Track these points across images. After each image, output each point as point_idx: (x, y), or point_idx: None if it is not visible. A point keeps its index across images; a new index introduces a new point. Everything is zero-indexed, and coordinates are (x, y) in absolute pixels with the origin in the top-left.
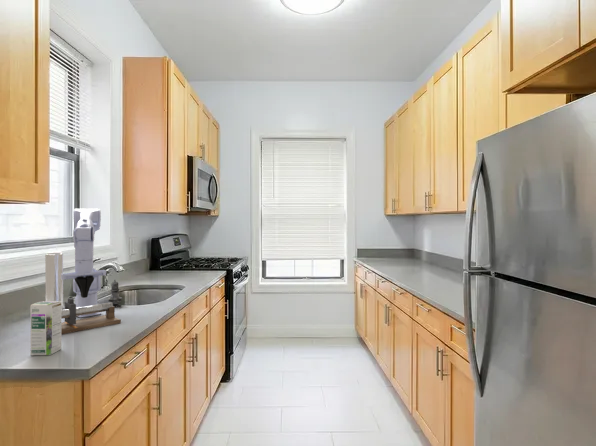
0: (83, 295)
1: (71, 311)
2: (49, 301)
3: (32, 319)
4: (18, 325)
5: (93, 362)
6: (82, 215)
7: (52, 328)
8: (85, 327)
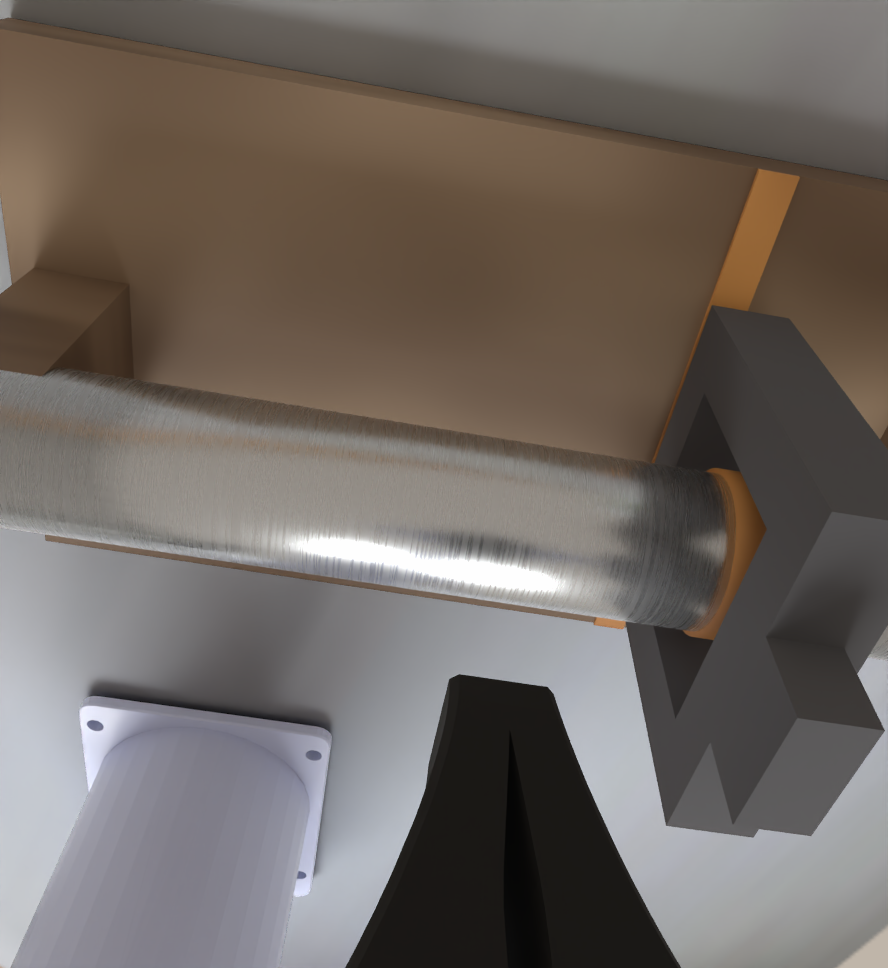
0: (565, 729)
1: (867, 434)
2: None
3: None
4: (817, 891)
5: None
6: None
7: None
8: (629, 140)
